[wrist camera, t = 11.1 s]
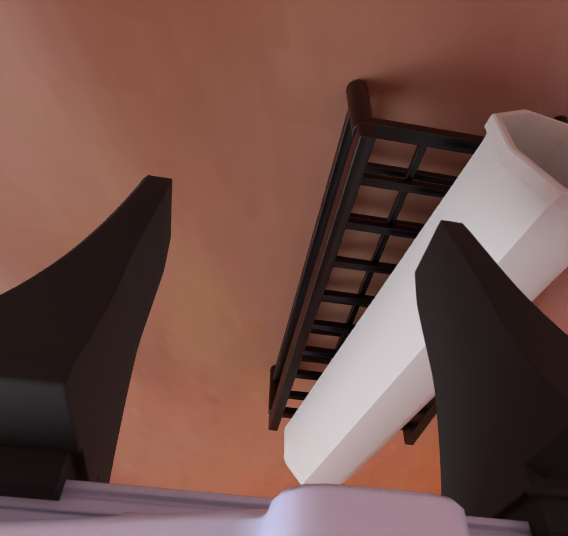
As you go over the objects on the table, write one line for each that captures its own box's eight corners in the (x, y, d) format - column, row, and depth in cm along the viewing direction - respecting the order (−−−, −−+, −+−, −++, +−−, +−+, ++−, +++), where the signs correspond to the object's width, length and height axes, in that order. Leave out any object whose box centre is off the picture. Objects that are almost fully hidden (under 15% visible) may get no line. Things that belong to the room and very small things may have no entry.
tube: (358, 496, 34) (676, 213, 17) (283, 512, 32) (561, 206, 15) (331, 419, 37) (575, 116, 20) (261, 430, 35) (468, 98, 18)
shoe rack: (572, 117, 23) (615, 178, 20) (405, 387, 38) (414, 445, 35) (349, 77, 22) (357, 134, 19) (269, 371, 37) (266, 430, 34)
